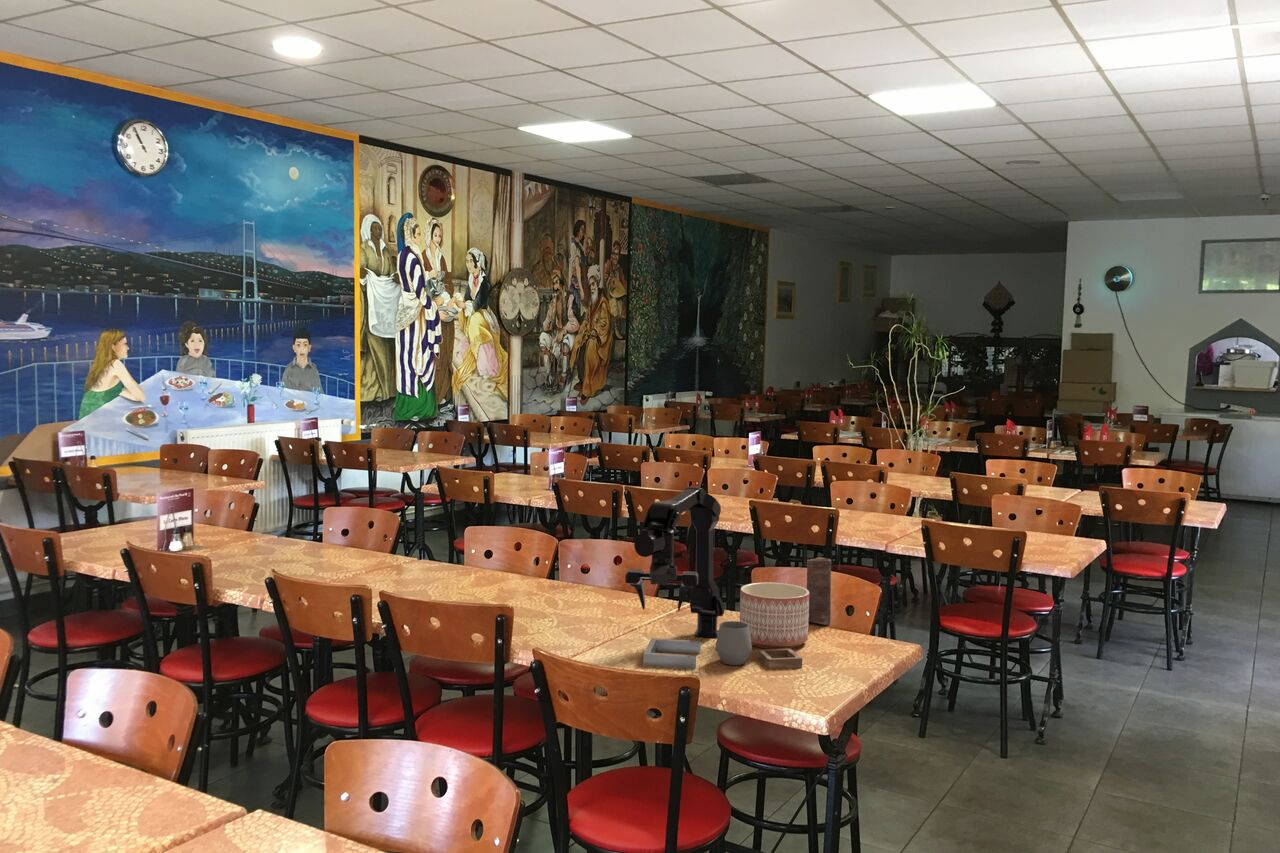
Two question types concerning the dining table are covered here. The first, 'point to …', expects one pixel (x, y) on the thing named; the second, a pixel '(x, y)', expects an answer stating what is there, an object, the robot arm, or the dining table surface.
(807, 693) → the dining table surface
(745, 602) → the planter
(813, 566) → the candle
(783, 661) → the square wooden tray
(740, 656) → the cup
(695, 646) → the grey square frame
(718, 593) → the robot arm
